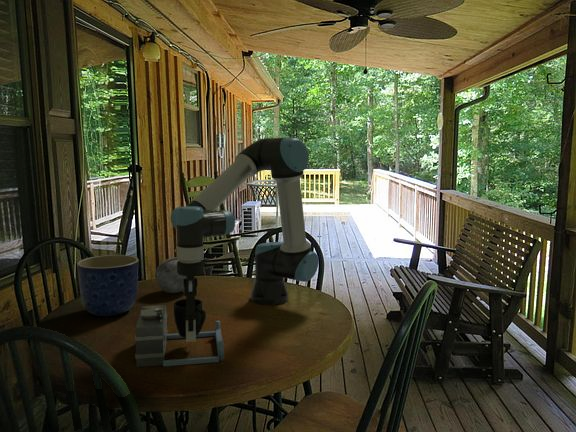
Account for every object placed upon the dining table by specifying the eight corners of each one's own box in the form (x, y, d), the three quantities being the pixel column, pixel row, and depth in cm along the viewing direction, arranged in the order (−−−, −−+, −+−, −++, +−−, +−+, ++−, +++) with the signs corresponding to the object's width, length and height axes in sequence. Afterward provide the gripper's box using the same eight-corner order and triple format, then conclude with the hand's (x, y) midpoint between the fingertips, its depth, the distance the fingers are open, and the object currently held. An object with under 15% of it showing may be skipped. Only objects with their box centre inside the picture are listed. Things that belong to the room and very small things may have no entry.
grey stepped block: (167, 338, 140) (166, 298, 138) (164, 365, 122) (163, 319, 120) (142, 340, 138) (141, 299, 136) (135, 367, 120) (134, 321, 119)
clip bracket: (220, 334, 144) (219, 319, 143) (224, 361, 125) (224, 344, 124) (167, 337, 140) (166, 322, 140) (163, 366, 121) (162, 348, 121)
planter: (78, 325, 150) (75, 270, 147) (79, 306, 168) (77, 257, 166) (142, 317, 158) (141, 264, 155) (137, 300, 176) (136, 253, 174)
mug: (191, 345, 124) (190, 312, 123) (169, 333, 132) (168, 302, 131) (215, 337, 130) (215, 306, 128) (192, 326, 138) (192, 296, 137)
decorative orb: (181, 285, 197) (180, 252, 195) (198, 293, 187) (198, 258, 185) (149, 292, 187) (148, 257, 185) (166, 300, 177) (165, 263, 175)
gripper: (178, 252, 139) (178, 321, 142) (175, 270, 117) (176, 350, 120) (202, 251, 140) (202, 319, 143) (204, 269, 119) (204, 348, 122)
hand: (190, 334), depth 132 cm, fingers closed on mug, 10 cm apart
